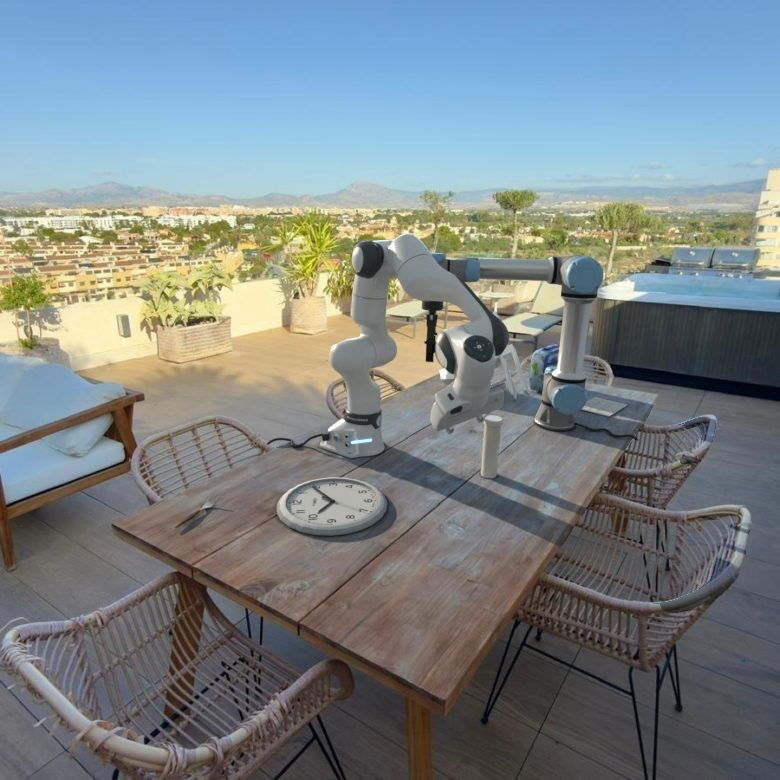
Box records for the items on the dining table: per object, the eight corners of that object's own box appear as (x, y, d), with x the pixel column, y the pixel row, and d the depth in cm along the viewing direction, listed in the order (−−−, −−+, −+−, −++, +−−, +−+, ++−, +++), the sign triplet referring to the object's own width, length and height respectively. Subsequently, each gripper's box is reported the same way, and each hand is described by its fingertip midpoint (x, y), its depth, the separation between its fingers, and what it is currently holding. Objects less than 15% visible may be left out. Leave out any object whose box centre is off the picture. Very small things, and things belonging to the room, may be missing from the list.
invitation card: (608, 416, 214) (573, 407, 224) (608, 416, 214) (573, 408, 224) (628, 404, 229) (594, 396, 238) (628, 405, 229) (594, 397, 238)
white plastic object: (461, 429, 252) (437, 405, 227) (444, 352, 274) (420, 323, 250) (535, 404, 240) (518, 377, 215) (510, 326, 262) (492, 293, 237)
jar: (492, 479, 159) (497, 423, 153) (477, 475, 162) (482, 420, 156) (499, 473, 163) (503, 419, 157) (484, 469, 165) (488, 415, 160)
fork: (171, 528, 130) (170, 521, 130) (212, 499, 145) (211, 492, 144) (179, 530, 129) (178, 523, 129) (220, 500, 144) (219, 494, 143)
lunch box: (545, 397, 238) (550, 352, 231) (524, 391, 245) (529, 348, 239) (572, 386, 255) (578, 344, 249) (552, 381, 262) (557, 340, 256)
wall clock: (392, 527, 129) (268, 531, 127) (391, 533, 130) (269, 537, 127) (383, 473, 158) (282, 475, 155) (383, 478, 158) (282, 480, 156)
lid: (497, 428, 154) (498, 422, 153) (480, 424, 156) (481, 418, 156) (504, 422, 158) (505, 417, 157) (488, 419, 161) (488, 413, 160)
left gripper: (500, 371, 134) (492, 405, 144) (428, 396, 129) (426, 429, 139) (513, 388, 130) (504, 421, 141) (440, 414, 125) (437, 447, 135)
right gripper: (424, 293, 195) (422, 349, 202) (419, 302, 172) (417, 365, 178) (444, 294, 195) (441, 350, 201) (442, 303, 171) (439, 366, 177)
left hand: (464, 425), depth 140 cm, fingers open, 8 cm apart
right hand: (430, 357), depth 190 cm, fingers open, 13 cm apart
